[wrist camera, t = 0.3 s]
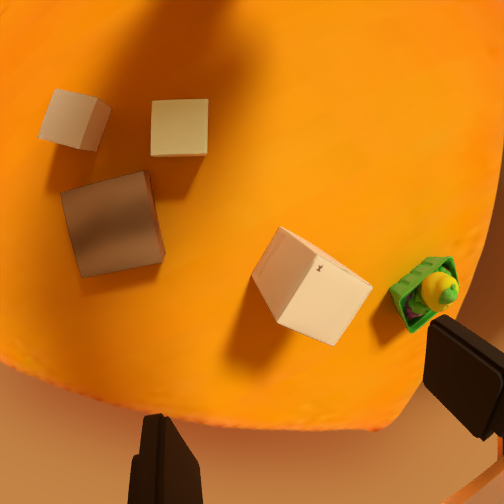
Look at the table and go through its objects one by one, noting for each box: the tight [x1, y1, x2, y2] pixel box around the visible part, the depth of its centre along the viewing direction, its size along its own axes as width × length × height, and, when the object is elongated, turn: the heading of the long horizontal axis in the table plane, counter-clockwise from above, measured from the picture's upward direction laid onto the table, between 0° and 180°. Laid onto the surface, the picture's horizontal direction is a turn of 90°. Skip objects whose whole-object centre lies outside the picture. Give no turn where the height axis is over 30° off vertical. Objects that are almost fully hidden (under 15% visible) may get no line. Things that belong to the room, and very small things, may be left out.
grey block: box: [38, 89, 112, 152], centre depth 28 cm, size 6×6×6 cm
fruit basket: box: [389, 256, 460, 333], centre depth 39 cm, size 11×9×11 cm
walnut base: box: [60, 171, 165, 278], centre depth 33 cm, size 10×10×4 cm
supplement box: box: [251, 226, 373, 346], centre depth 33 cm, size 7×7×13 cm
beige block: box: [151, 99, 208, 157], centre depth 30 cm, size 6×6×6 cm
